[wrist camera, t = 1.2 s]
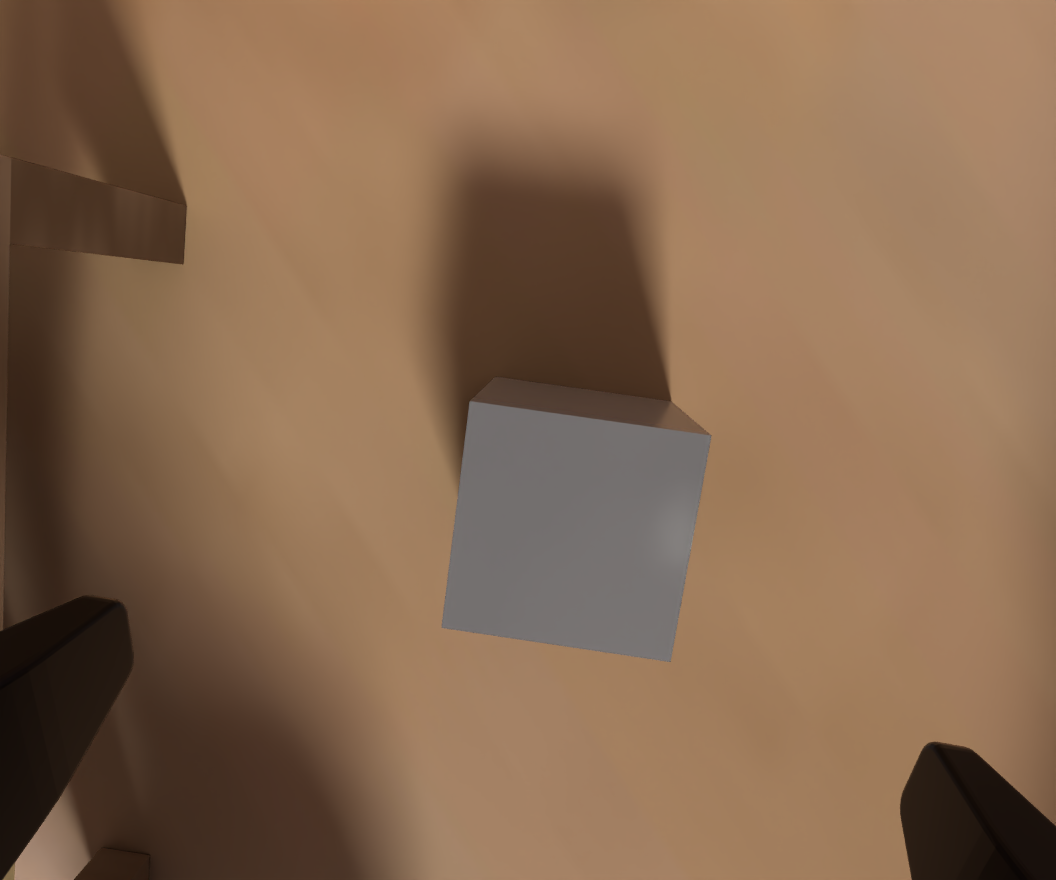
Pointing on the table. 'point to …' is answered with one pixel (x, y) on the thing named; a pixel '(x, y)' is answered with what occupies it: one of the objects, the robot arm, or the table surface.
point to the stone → (574, 518)
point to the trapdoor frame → (90, 227)
